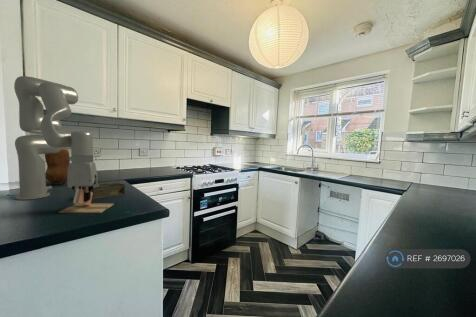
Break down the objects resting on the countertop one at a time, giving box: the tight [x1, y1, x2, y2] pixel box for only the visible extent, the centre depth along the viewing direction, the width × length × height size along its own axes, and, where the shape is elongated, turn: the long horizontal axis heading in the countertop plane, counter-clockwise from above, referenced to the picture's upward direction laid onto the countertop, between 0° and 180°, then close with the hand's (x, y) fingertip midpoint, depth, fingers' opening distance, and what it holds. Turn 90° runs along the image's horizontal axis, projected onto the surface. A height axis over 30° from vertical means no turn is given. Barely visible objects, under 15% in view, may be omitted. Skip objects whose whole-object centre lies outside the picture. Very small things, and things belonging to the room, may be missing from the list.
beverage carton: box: [82, 182, 126, 201], centre depth 111 cm, size 8×19×7 cm, turn 142°
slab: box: [72, 189, 93, 206], centre depth 89 cm, size 9×2×6 cm, turn 7°
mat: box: [58, 202, 115, 214], centre depth 90 cm, size 12×16×1 cm
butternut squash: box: [44, 148, 71, 185], centre depth 133 cm, size 14×13×25 cm
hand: (83, 200), depth 89 cm, fingers closed on slab, 2 cm apart
